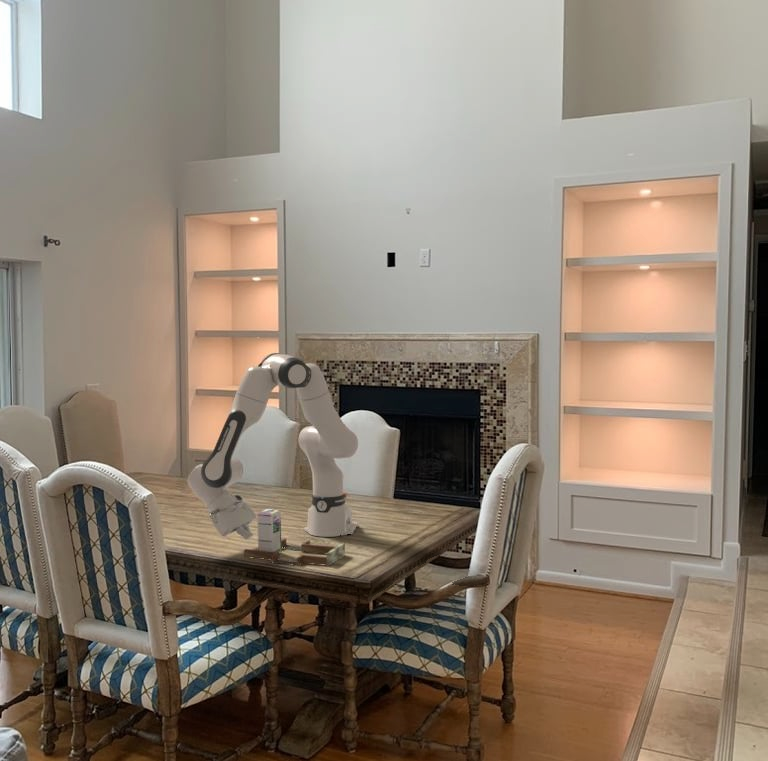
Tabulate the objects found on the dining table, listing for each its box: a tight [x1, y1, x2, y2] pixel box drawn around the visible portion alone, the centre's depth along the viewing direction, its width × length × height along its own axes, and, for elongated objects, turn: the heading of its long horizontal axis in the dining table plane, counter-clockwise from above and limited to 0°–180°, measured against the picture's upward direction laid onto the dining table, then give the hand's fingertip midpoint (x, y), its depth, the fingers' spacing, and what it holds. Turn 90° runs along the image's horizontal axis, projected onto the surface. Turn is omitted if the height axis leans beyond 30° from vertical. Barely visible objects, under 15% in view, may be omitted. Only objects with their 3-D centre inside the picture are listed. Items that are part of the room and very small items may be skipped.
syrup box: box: [256, 508, 282, 554], centre depth 268 cm, size 6×6×14 cm
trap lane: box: [243, 537, 346, 566], centre depth 266 cm, size 20×30×4 cm
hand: (249, 537), depth 270 cm, fingers closed
